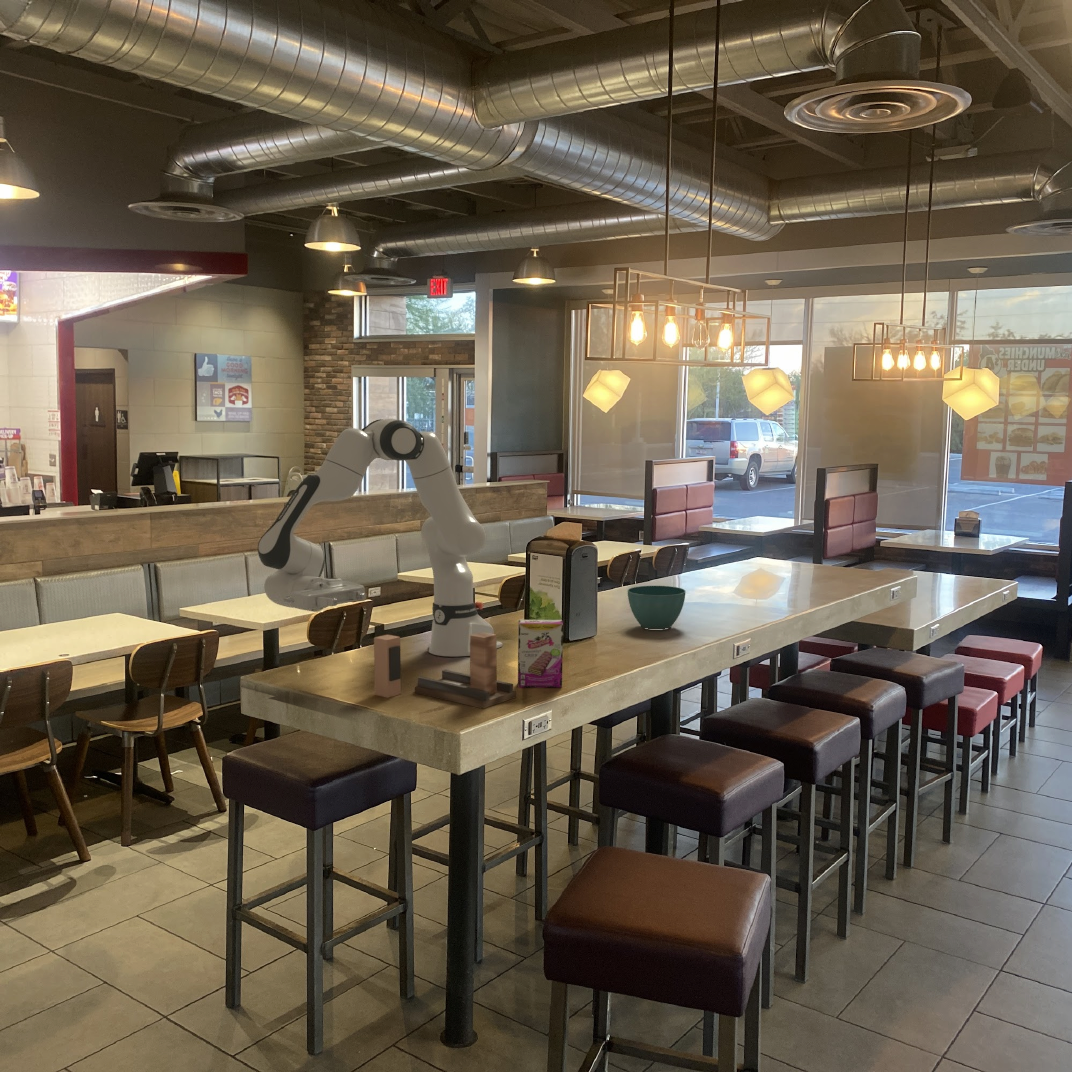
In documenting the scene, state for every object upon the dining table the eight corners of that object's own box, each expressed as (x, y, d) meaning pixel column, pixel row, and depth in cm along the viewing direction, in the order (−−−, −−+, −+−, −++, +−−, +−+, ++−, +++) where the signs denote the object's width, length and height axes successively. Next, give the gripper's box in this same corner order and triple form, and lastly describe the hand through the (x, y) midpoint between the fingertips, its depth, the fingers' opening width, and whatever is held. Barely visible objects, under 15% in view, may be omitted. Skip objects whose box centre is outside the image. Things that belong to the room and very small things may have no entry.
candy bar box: (517, 688, 251) (517, 623, 249) (517, 683, 256) (517, 619, 254) (563, 688, 251) (563, 622, 249) (562, 683, 256) (562, 618, 254)
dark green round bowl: (666, 636, 310) (667, 597, 309) (616, 629, 321) (616, 590, 320) (695, 627, 325) (695, 589, 323) (645, 620, 336) (646, 583, 334)
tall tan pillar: (388, 690, 248) (387, 634, 247) (402, 694, 245) (401, 637, 244) (375, 694, 245) (373, 637, 243) (389, 698, 242) (388, 640, 240)
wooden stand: (448, 682, 256) (447, 622, 254) (516, 697, 243) (515, 633, 241) (414, 692, 247) (413, 629, 245) (483, 708, 233) (482, 642, 231)
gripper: (279, 586, 251) (316, 592, 242) (342, 577, 267) (379, 582, 258) (279, 611, 251) (316, 618, 243) (343, 600, 267) (379, 607, 259)
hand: (349, 600), depth 251 cm, fingers open, 8 cm apart
